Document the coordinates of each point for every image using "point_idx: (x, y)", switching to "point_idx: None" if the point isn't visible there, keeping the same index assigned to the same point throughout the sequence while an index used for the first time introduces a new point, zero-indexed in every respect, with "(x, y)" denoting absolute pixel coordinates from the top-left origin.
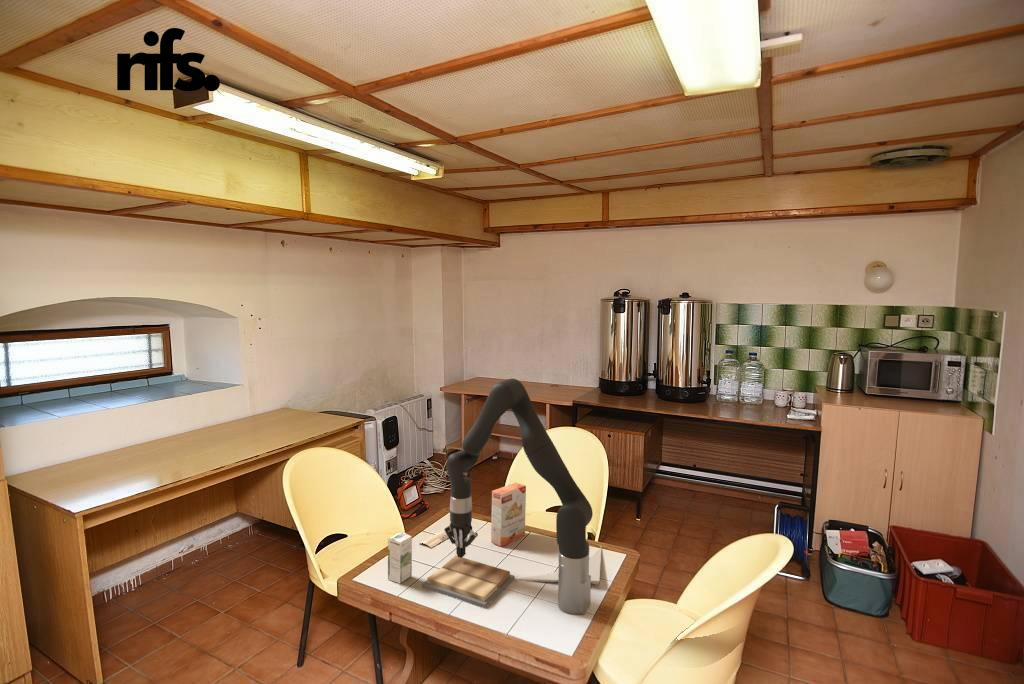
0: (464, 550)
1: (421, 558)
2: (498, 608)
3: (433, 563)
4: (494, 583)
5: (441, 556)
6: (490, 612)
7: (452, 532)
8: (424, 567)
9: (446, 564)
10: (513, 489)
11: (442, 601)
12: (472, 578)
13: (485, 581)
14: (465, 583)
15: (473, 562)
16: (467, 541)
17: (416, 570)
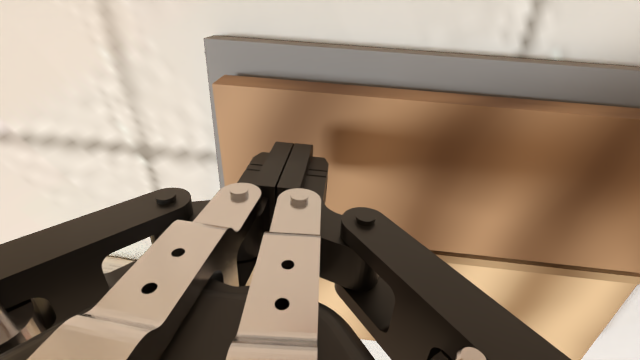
0: (324, 199)
1: (14, 101)
2: (628, 329)
3: (117, 122)
4: (622, 274)
5: (78, 15)
6: (592, 352)
7: (56, 292)
8: (116, 177)
9: None
10: None
11: (370, 345)
12: (463, 269)
13: (557, 274)
14: None
15: (400, 122)
16: (390, 343)
17: None
